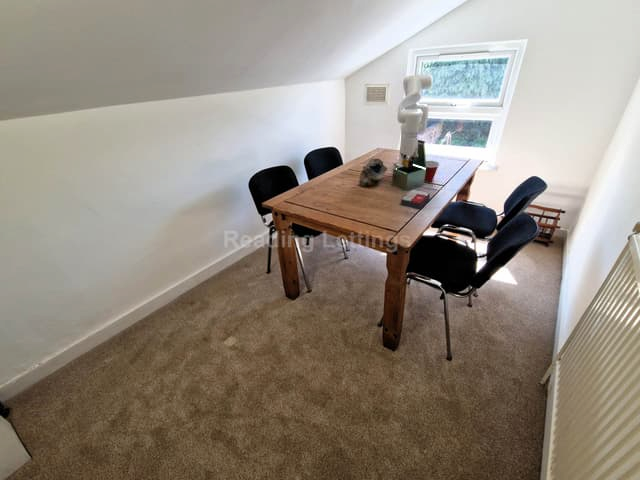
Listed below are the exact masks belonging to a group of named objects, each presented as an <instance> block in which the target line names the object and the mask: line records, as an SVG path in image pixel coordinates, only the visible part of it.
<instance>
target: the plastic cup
mask: <svg viewBox="0 0 640 480" xmlns="http://www.w3.org/2000/svg"><path fill="white" fill-rule="evenodd" d="M426 166H427V168H425V169H426V172H425V179H424V183H432V182H433V181H434V178H435V176H436V173H437V170H438V168H439V167H440V162H438V161H436V160H426Z"/></svg>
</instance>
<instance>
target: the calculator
mask: <svg viewBox="0 0 640 480" xmlns="http://www.w3.org/2000/svg"><path fill="white" fill-rule="evenodd" d="M430 196H431V193H430V192H427V191H421V190H415V189H410V191H409V192H408V193H407V194H406V195H405V196H404V197H403V198H402V199H401V200H400V205H401V206H405V207H411V208H414V209H419V210H420V209H421V208H422V207H423V206H424V205H425V204H426V203H427V202H428V201H429V200H430Z"/></svg>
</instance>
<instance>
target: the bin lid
mask: <svg viewBox="0 0 640 480" xmlns="http://www.w3.org/2000/svg"><path fill="white" fill-rule="evenodd" d="M425 143H426V141H425V140H421V139H418V150H417V153H418V157H417V158H415V159H414V160H413V165H416V166H419V167H422V168H427V166H426V161H427V158H426V147H425ZM414 156H415V155H414Z"/></svg>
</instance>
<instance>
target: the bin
mask: <svg viewBox="0 0 640 480" xmlns="http://www.w3.org/2000/svg"><path fill="white" fill-rule="evenodd" d="M425 172H426V169H425V168H423V167H420V166H417V165H414V164H413V166H411V167H405V166H402V167H398V166H397V167H395V168H393V169H392V178H391V185H392V186H394V187H396V188H399V189H401V190H403V191H409V190H410V191H411V190H414V189H416V188H419V187H422V186H424V183H425V181H424V179H425Z"/></svg>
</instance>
